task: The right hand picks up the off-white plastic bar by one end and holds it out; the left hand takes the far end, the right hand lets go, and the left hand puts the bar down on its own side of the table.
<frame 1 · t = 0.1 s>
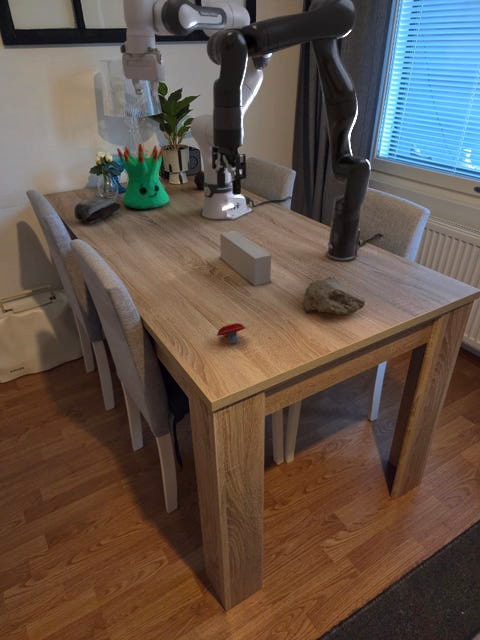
left hand: (146, 95, 149), 48 cm above the table, tool pointing down, fingers open, 8 cm apart
right hand: (228, 190, 120), 29 cm above the table, tool pointing down, fingers open, 8 cm apart
toy: (208, 189, 226), on the table
artifact: (327, 305, 125), on the table
toy 2: (146, 204, 204), on the table
bar: (244, 269, 145), on the table
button: (231, 340, 110), on the table
dark grey case: (99, 219, 186), on the table
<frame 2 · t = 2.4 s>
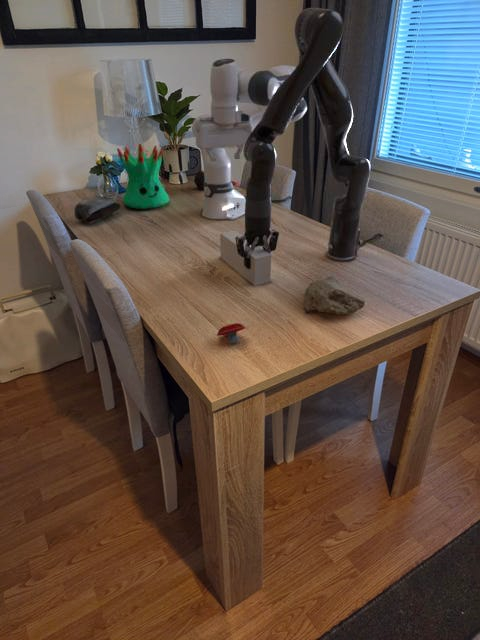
left hand: (225, 160, 153), 29 cm above the table, tool pointing down, fingers open, 8 cm apart
right hand: (256, 265, 137), 5 cm above the table, tool pointing down, fingers closed on bar, 5 cm apart
bar: (244, 269, 145), on the table, touching right hand
everything else where it was.
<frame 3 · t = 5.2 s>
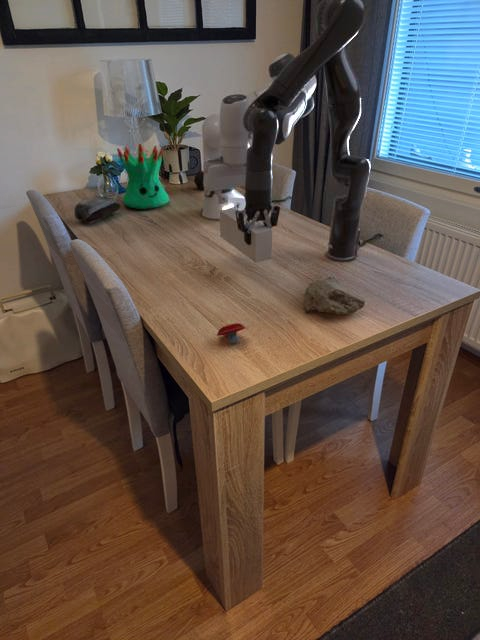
left hand: (234, 201, 141), 20 cm above the table, tool pointing down, fingers open, 8 cm apart
right hand: (257, 242, 133), 12 cm above the table, tool pointing down, fingers closed on bar, 5 cm apart
bar: (244, 247, 141), point 8 cm above the table, touching right hand
everything else where it was.
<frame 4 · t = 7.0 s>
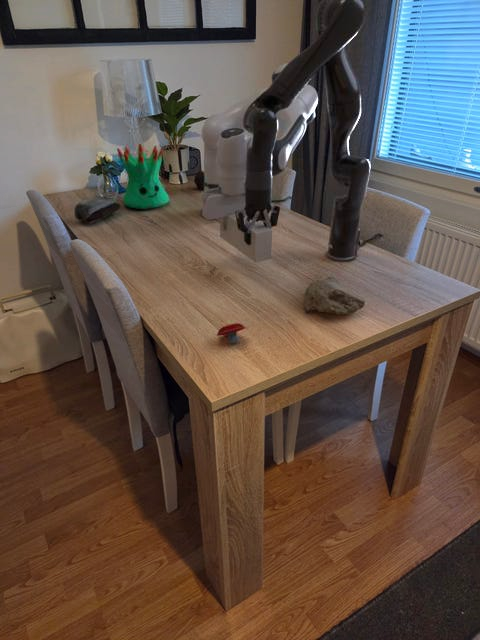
left hand: (232, 228, 145), 11 cm above the table, tool pointing down, fingers closed on bar, 5 cm apart
right hand: (257, 242, 133), 12 cm above the table, tool pointing down, fingers closed on bar, 5 cm apart
bar: (244, 247, 141), point 8 cm above the table, touching left hand, right hand
everything else where it was.
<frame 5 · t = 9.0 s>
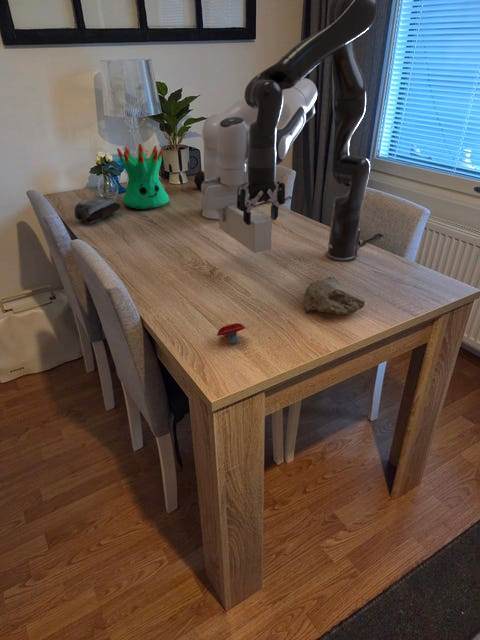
left hand: (232, 219, 143), 14 cm above the table, tool pointing down, fingers closed on bar, 5 cm apart
right hand: (260, 221, 128), 19 cm above the table, tool pointing down, fingers open, 8 cm apart
bar: (243, 238, 139), point 11 cm above the table, touching left hand
everything else where it was.
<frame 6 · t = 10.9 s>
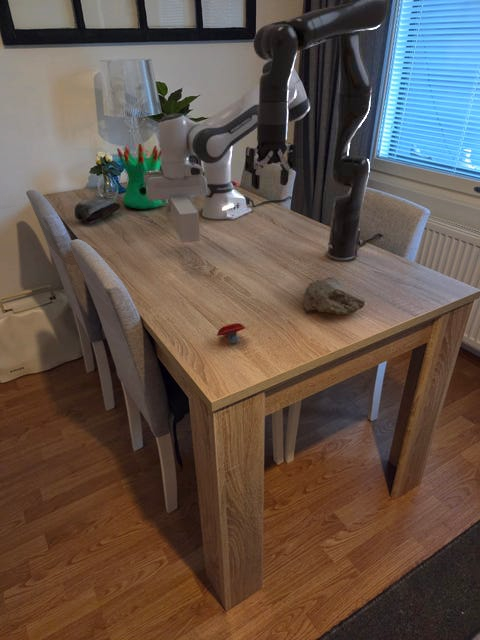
left hand: (178, 210, 151), 14 cm above the table, tool pointing down, fingers closed on bar, 5 cm apart
right hand: (270, 186, 119), 30 cm above the table, tool pointing down, fingers open, 8 cm apart
bar: (183, 229, 146), point 11 cm above the table, touching left hand
everything else where it was.
when the left hand's fingers open (5 cm above the table, at t = 12.6 s): bar stays where it is, on the table.
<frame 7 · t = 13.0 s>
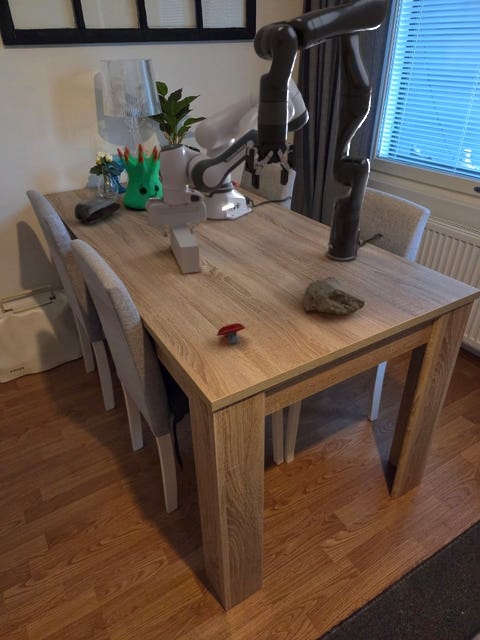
left hand: (178, 235, 156), 6 cm above the table, tool pointing down, fingers open, 8 cm apart
right hand: (270, 186, 119), 30 cm above the table, tool pointing down, fingers open, 8 cm apart
bar: (184, 258, 152), on the table
everything else where it was.
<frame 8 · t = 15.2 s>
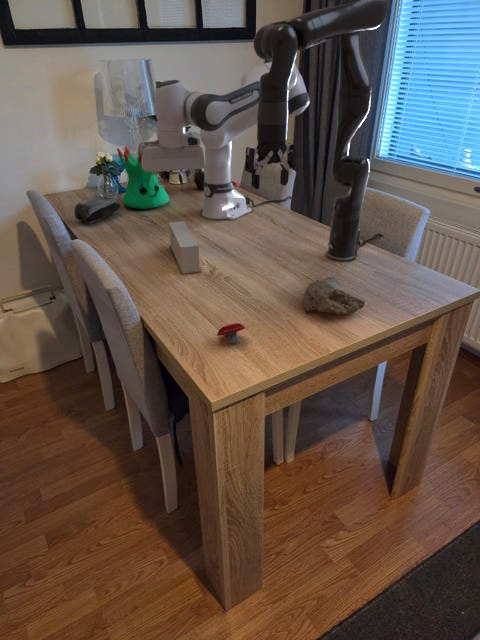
left hand: (175, 183, 146), 24 cm above the table, tool pointing down, fingers open, 8 cm apart
right hand: (270, 186, 119), 30 cm above the table, tool pointing down, fingers open, 8 cm apart
nothing on the table moved.
at the end: bar inside the target area (7.6 cm from its centre), on the table; the left hand is holding nothing; the right hand is holding nothing; bar at rest at the end (0.0 cm/s) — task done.
